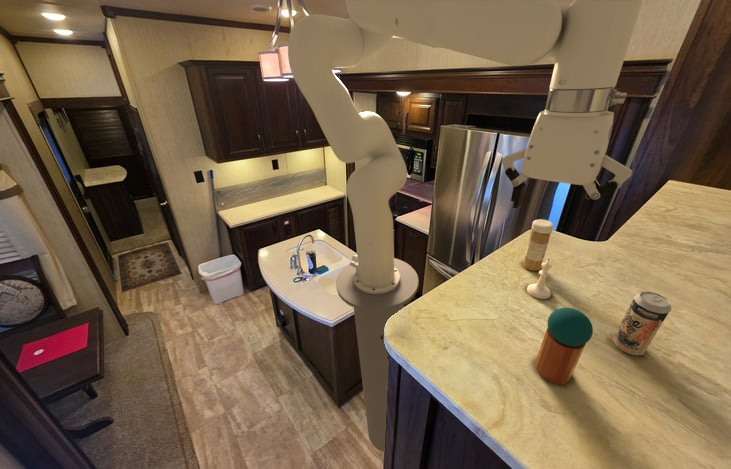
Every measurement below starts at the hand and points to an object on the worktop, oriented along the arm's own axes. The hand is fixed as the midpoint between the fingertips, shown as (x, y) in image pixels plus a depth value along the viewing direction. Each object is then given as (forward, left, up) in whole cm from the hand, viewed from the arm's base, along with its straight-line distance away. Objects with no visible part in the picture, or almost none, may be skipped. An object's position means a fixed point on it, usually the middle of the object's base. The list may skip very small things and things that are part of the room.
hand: (547, 211), depth 49 cm
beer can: (+18, +6, -26) cm, 33 cm away
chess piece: (+1, +13, -26) cm, 30 cm away
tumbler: (+8, -8, -26) cm, 29 cm away
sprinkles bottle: (-3, +23, -26) cm, 35 cm away
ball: (+8, -8, -18) cm, 22 cm away
